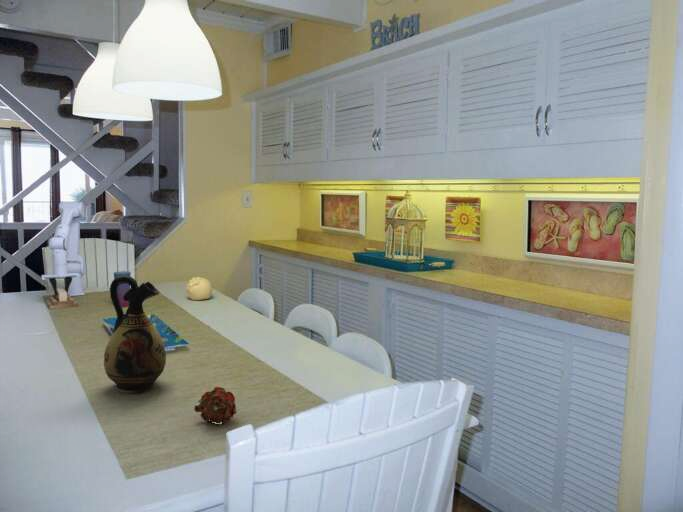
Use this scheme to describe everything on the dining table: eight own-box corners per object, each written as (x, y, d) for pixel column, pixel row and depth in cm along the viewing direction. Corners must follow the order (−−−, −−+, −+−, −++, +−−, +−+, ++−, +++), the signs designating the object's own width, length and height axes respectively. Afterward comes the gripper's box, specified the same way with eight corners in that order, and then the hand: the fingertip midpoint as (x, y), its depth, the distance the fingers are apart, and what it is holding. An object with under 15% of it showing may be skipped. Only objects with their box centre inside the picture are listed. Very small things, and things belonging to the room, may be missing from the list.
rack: (45, 300, 245) (44, 295, 245) (72, 298, 252) (71, 293, 251) (50, 308, 231) (49, 303, 230) (78, 306, 237) (78, 300, 236)
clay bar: (55, 299, 245) (55, 288, 244) (63, 298, 247) (62, 287, 246) (59, 304, 235) (59, 292, 235) (67, 303, 237) (66, 292, 236)
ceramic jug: (173, 377, 153) (171, 272, 149) (156, 398, 138) (154, 282, 134) (112, 376, 153) (108, 271, 149) (88, 398, 137) (84, 280, 134)
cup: (114, 305, 241) (113, 271, 239) (130, 304, 244) (130, 270, 242) (115, 308, 235) (114, 273, 233) (132, 307, 237) (131, 273, 236)
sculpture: (185, 297, 261) (185, 275, 260) (211, 296, 265) (211, 274, 263) (186, 302, 250) (186, 279, 249) (213, 301, 254) (213, 278, 252)
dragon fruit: (223, 439, 120) (206, 426, 130) (251, 411, 124) (233, 400, 134) (199, 413, 118) (184, 402, 128) (228, 384, 121) (211, 375, 131)
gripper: (42, 266, 232) (43, 298, 233) (79, 264, 240) (80, 294, 241) (40, 264, 237) (41, 295, 239) (76, 262, 245) (78, 292, 247)
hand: (61, 294), depth 241 cm, fingers open, 3 cm apart
